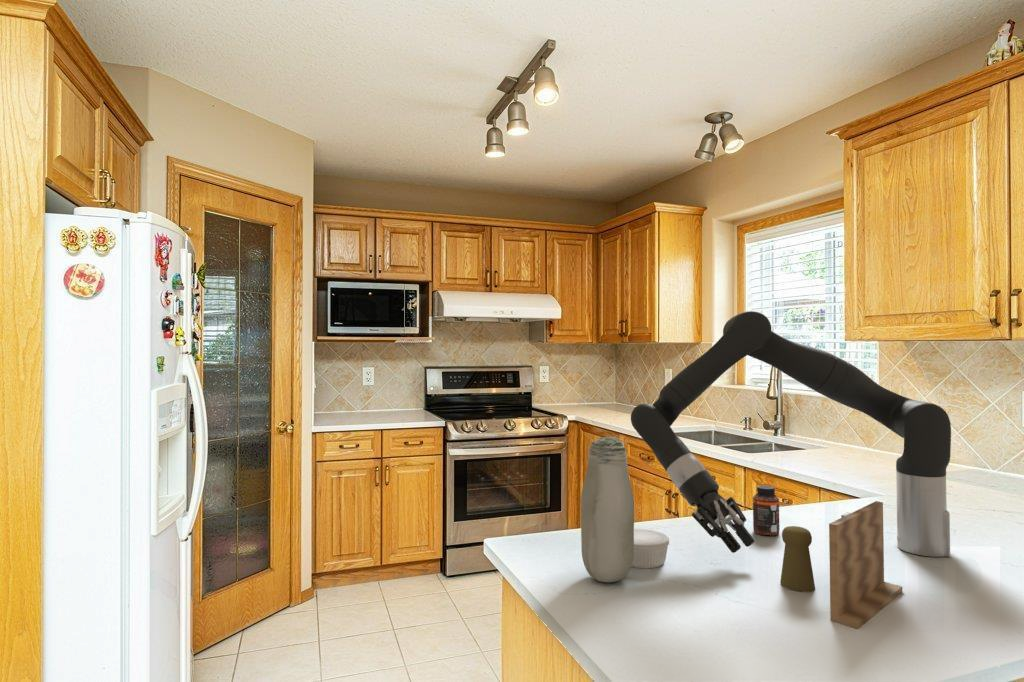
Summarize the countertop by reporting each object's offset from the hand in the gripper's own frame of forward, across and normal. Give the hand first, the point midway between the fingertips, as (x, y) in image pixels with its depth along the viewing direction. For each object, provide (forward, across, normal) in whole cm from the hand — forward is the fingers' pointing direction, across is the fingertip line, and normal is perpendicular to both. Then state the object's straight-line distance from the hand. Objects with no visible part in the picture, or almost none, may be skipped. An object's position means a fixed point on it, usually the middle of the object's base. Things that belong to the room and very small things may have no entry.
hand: (744, 547), depth 121 cm
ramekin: (-9, -11, +16) cm, 21 cm away
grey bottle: (-7, -25, +14) cm, 29 cm away
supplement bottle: (-3, +27, +10) cm, 29 cm away
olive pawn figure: (+11, 0, -4) cm, 12 cm away
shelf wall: (+19, 0, -13) cm, 23 cm away
